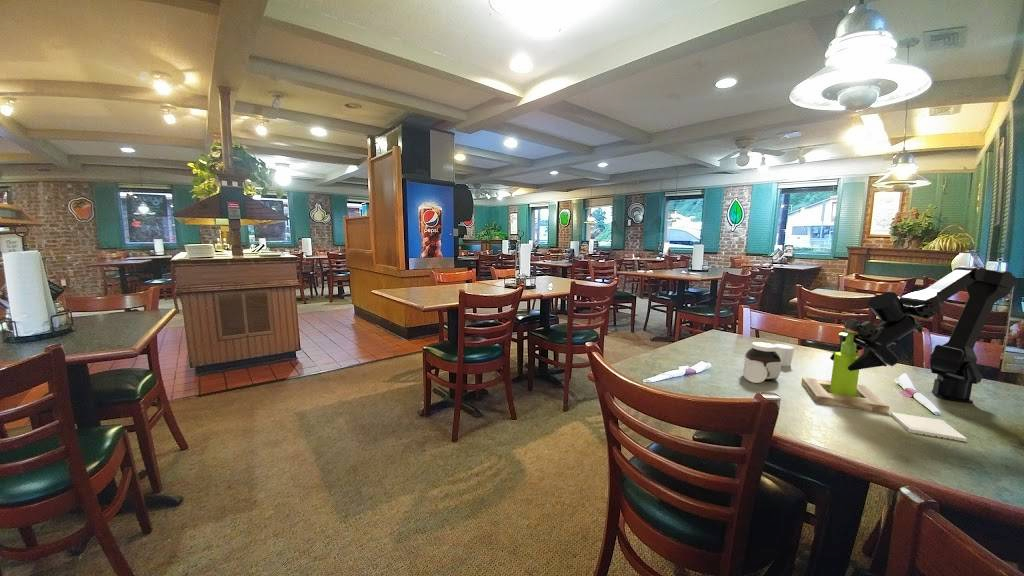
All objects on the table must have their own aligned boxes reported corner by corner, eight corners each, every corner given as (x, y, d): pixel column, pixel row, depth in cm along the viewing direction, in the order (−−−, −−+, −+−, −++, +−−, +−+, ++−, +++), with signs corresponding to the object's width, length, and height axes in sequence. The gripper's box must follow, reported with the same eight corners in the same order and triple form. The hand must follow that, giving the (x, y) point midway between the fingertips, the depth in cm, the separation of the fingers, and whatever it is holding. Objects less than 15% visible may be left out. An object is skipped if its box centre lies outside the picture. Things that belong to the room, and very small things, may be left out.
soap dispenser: (822, 394, 115) (830, 330, 113) (837, 391, 118) (845, 329, 115) (845, 402, 110) (854, 335, 107) (859, 399, 112) (868, 333, 109)
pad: (941, 422, 98) (941, 419, 98) (966, 441, 89) (966, 438, 89) (890, 414, 102) (890, 412, 102) (909, 432, 93) (909, 429, 93)
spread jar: (773, 375, 131) (776, 342, 130) (787, 387, 121) (791, 352, 119) (734, 371, 135) (737, 340, 133) (744, 383, 124) (748, 349, 122)
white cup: (797, 367, 140) (799, 348, 139) (778, 366, 140) (780, 348, 139) (784, 360, 146) (786, 343, 145) (766, 360, 147) (768, 343, 146)
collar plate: (864, 391, 118) (865, 385, 117) (888, 413, 103) (889, 406, 103) (801, 383, 124) (802, 377, 124) (815, 402, 110) (816, 395, 110)
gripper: (849, 304, 118) (804, 336, 122) (891, 316, 100) (836, 353, 105) (877, 330, 117) (830, 361, 121) (923, 348, 99) (867, 383, 104)
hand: (839, 364), depth 113 cm, fingers open, 9 cm apart
